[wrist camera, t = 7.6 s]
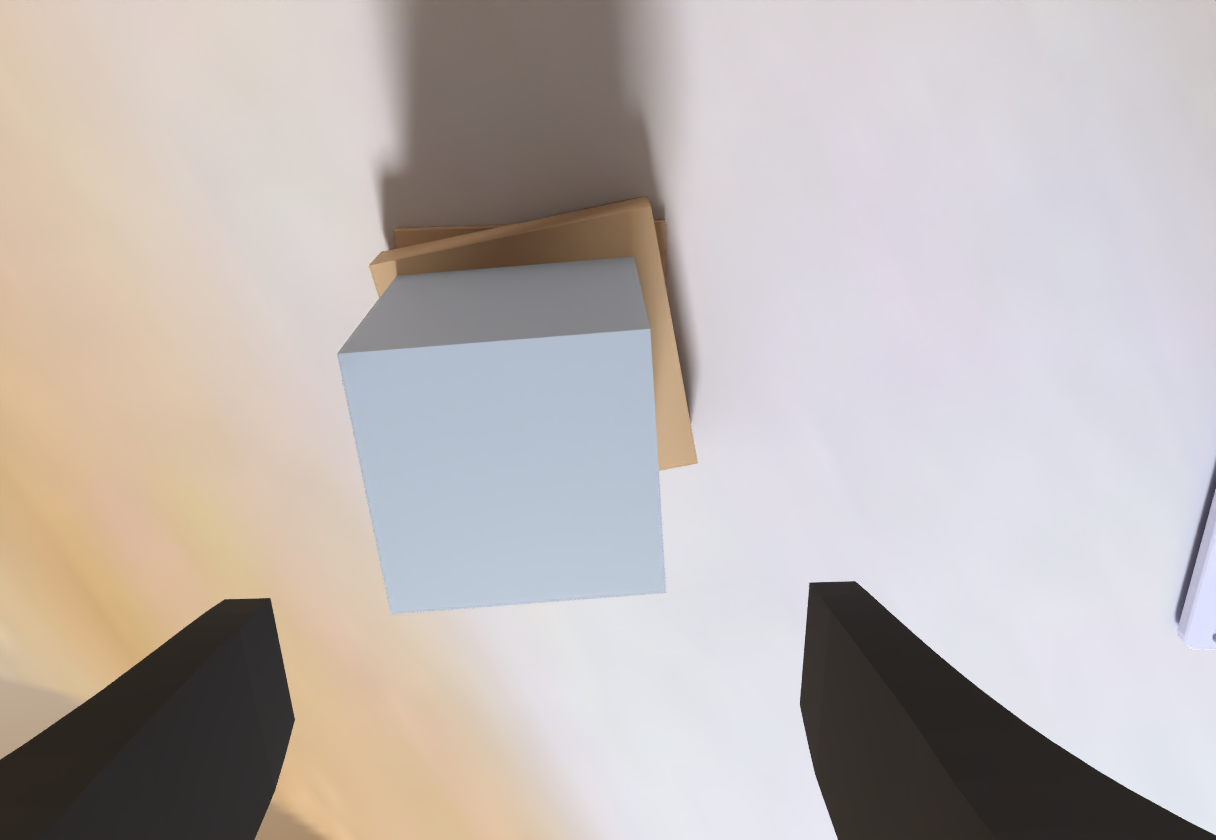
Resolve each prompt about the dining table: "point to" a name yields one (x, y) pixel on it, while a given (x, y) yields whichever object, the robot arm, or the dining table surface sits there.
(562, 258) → the slab top
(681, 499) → the dining table surface
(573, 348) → the cube
